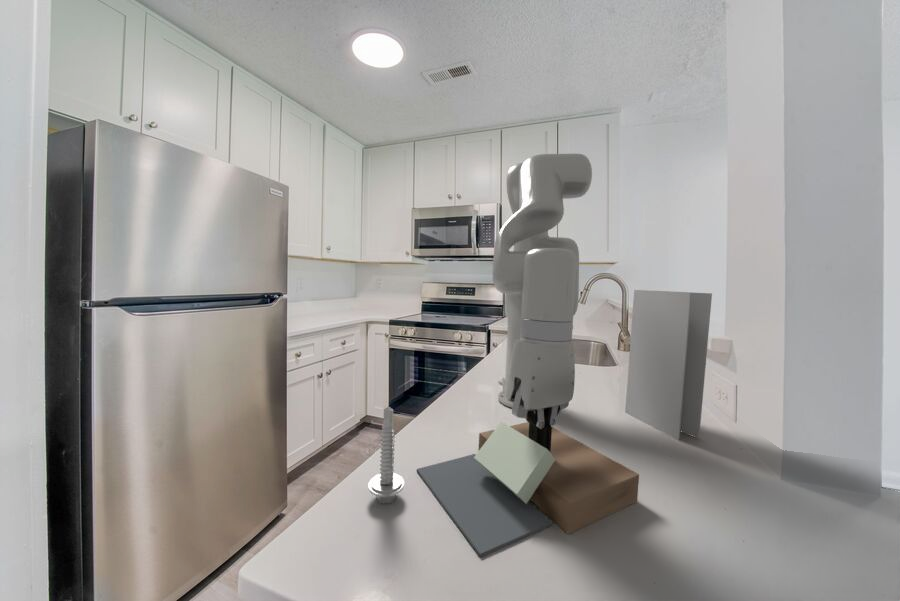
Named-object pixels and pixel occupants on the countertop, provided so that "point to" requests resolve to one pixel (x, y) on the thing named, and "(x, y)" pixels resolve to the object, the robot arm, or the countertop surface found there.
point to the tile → (515, 460)
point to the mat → (481, 504)
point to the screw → (387, 464)
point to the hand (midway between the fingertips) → (539, 448)
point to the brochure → (668, 359)
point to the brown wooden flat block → (579, 482)
